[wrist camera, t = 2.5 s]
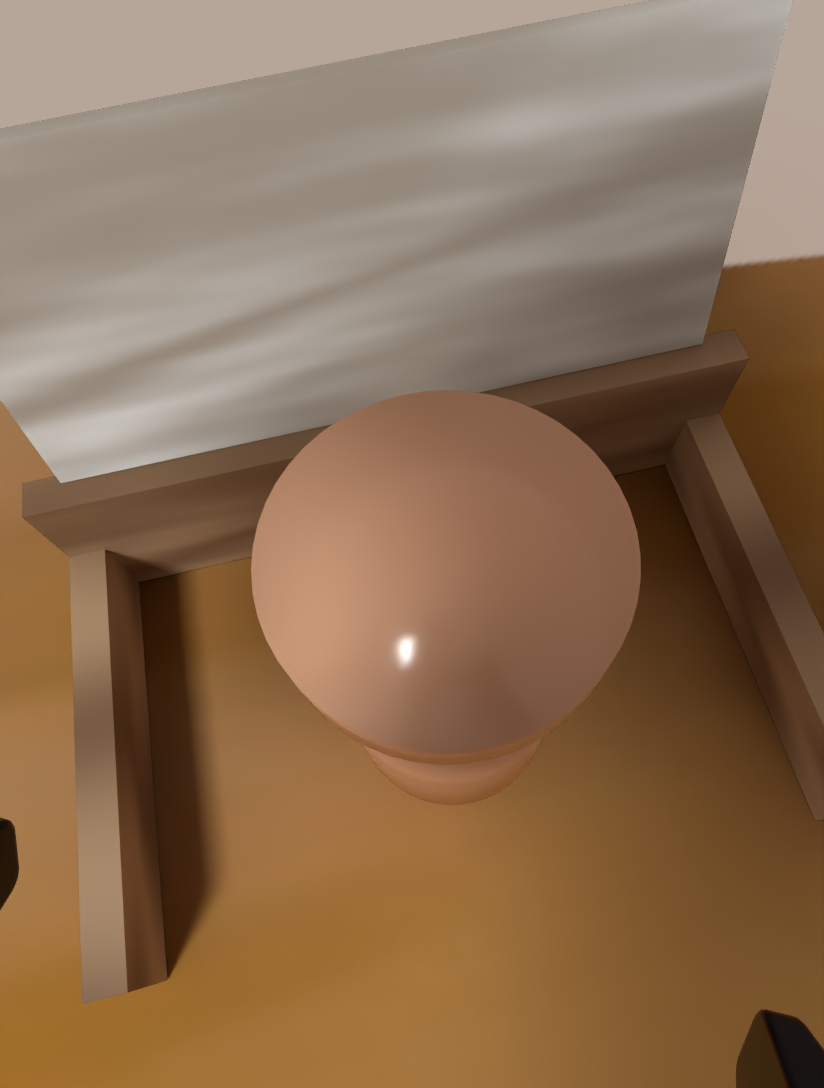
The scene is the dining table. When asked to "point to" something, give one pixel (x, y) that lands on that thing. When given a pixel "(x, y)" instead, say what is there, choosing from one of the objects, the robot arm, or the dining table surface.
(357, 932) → the dining table surface
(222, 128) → the wooden frame armchair
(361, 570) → the mushroom-shaped peg
